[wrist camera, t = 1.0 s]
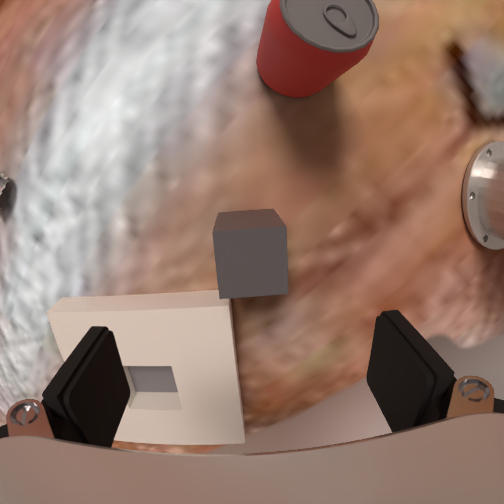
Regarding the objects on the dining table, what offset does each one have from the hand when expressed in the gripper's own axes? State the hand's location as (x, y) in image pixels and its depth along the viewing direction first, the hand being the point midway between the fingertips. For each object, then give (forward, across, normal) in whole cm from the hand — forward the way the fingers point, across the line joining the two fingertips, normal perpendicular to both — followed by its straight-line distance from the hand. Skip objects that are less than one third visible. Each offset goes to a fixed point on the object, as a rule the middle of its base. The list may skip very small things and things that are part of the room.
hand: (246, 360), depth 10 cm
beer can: (+19, -5, -15) cm, 25 cm away
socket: (+18, +10, +14) cm, 25 cm away
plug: (+18, 0, 0) cm, 19 cm away
